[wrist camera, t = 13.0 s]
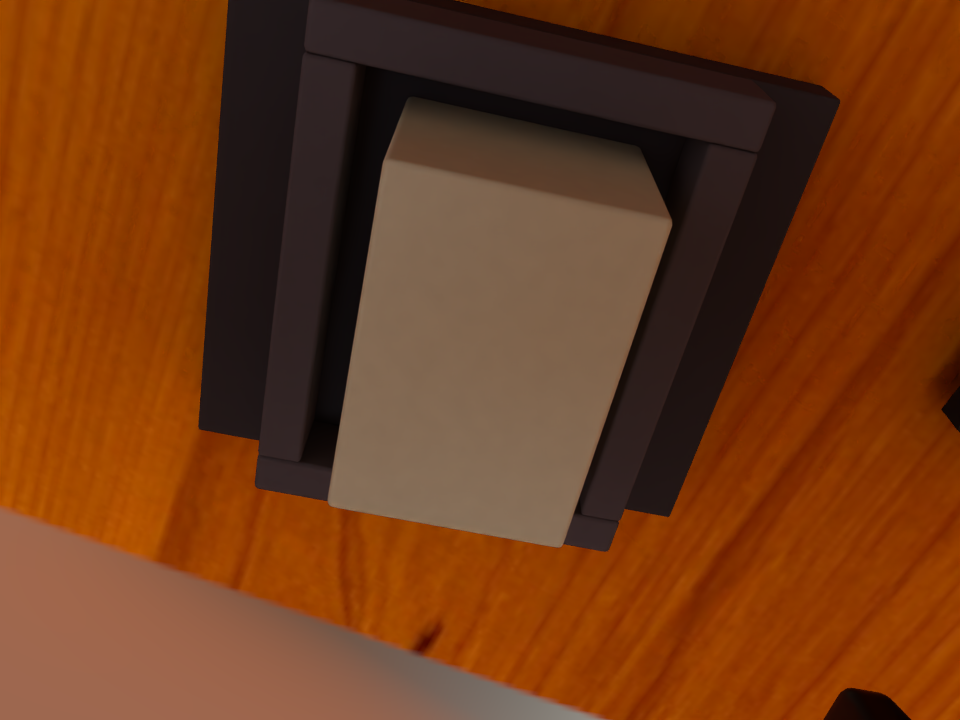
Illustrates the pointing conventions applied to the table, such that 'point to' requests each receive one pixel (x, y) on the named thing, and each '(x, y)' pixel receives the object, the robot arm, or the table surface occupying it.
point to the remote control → (953, 409)
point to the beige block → (493, 321)
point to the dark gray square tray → (505, 92)
